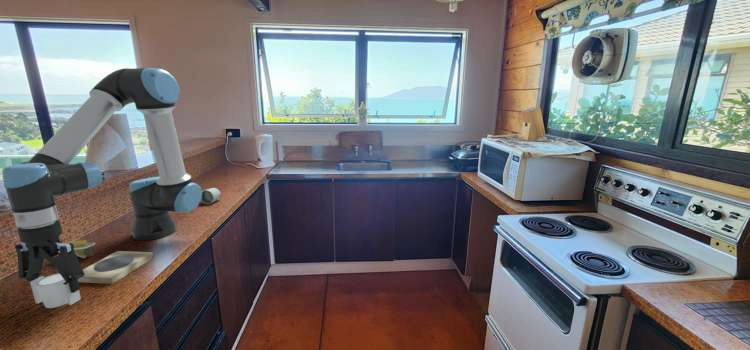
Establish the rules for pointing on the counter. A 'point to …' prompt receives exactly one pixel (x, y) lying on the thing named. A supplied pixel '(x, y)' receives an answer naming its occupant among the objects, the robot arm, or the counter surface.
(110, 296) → the counter surface
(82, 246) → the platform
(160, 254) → the counter surface
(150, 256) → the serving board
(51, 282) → the shot glass
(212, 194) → the ceramic mug
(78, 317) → the counter surface
